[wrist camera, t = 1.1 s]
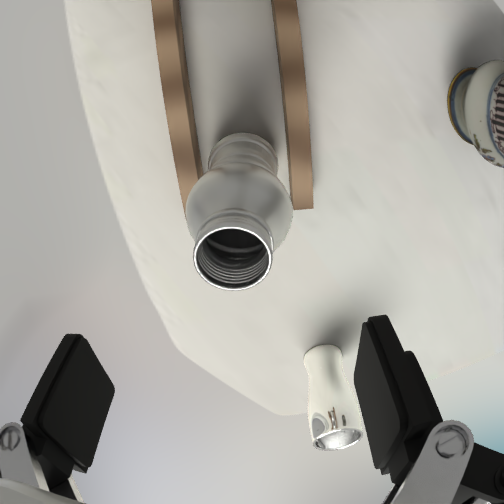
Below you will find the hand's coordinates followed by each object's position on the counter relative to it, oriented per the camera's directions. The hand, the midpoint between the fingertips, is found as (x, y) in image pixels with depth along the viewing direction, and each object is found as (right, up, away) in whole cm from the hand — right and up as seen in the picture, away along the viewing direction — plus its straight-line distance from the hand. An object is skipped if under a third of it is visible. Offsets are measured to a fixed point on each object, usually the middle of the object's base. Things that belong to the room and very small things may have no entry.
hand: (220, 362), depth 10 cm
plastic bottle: (0, +13, +22) cm, 26 cm away
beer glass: (+12, -13, +37) cm, 41 cm away
